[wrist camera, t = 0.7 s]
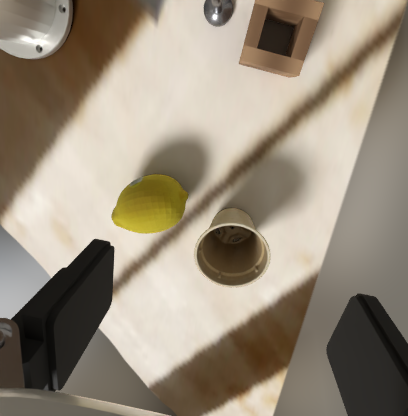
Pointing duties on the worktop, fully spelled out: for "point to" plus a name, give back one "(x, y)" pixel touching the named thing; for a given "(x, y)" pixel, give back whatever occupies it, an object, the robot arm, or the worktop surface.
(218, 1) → the buzz wire
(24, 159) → the worktop surface
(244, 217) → the flower pot
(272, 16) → the open wooden box
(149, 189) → the lemon
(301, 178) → the worktop surface
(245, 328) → the worktop surface
